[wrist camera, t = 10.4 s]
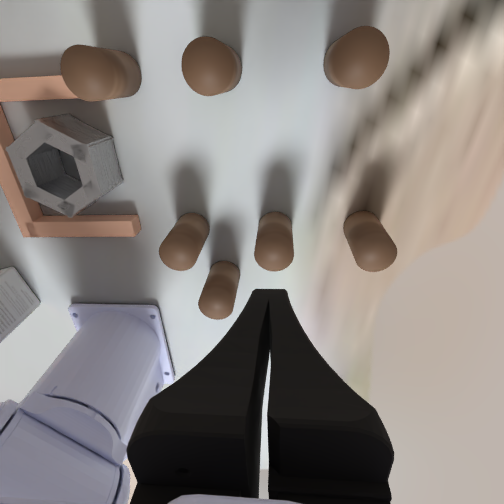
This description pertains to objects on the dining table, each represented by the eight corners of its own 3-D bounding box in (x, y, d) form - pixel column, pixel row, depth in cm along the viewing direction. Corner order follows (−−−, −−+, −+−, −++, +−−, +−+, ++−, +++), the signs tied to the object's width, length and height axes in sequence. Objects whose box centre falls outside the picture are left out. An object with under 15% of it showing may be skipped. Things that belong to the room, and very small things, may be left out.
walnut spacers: (382, 288, 25) (398, 323, 21) (152, 285, 26) (132, 317, 23) (448, -73, 15) (500, -120, 11) (75, -39, 16) (19, -70, 13)
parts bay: (141, 229, 24) (134, 236, 23) (34, 230, 25) (23, 237, 24) (105, 73, 19) (94, 73, 18) (-27, 80, 20) (-45, 81, 19)
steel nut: (128, 201, 23) (108, 217, 20) (60, 202, 23) (32, 218, 21) (107, 112, 20) (81, 117, 17) (30, 115, 20) (-7, 121, 18)
